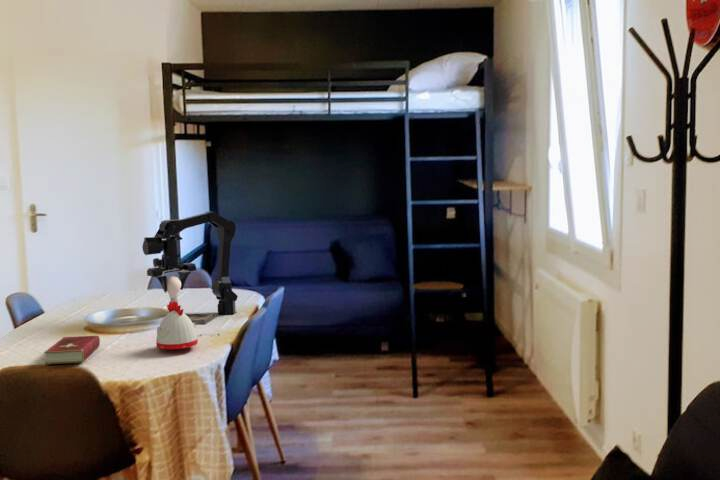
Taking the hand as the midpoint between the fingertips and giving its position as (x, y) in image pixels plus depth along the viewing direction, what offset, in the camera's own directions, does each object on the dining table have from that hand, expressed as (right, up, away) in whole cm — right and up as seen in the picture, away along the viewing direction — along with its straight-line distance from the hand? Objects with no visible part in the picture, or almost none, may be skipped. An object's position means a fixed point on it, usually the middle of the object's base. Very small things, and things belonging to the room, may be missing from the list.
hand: (173, 291), depth 290 cm
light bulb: (0, -5, +1) cm, 5 cm away
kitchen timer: (+11, -16, -36) cm, 41 cm away
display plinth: (+8, -12, +3) cm, 15 cm away
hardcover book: (-22, -18, -46) cm, 54 cm away
